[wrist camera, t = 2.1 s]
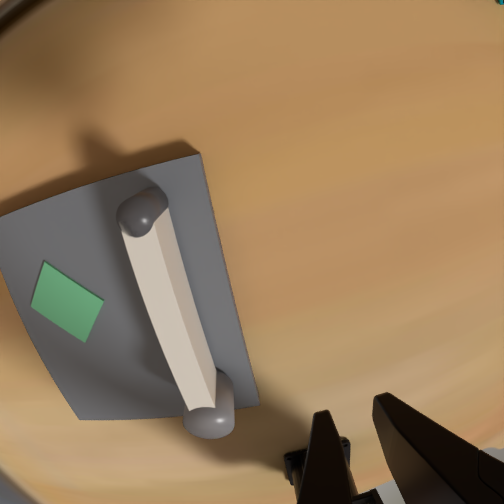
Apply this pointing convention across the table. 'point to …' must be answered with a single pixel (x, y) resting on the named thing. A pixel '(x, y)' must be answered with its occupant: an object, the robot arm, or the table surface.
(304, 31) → the table surface
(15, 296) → the plate
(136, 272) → the light grey rounded bar
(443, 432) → the robot arm
